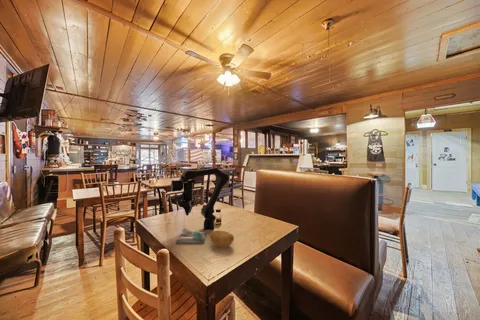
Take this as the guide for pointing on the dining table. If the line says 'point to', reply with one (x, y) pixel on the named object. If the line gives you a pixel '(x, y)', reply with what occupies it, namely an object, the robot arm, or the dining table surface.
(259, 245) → the dining table surface
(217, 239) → the potato
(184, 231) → the tong arm
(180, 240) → the slate board
